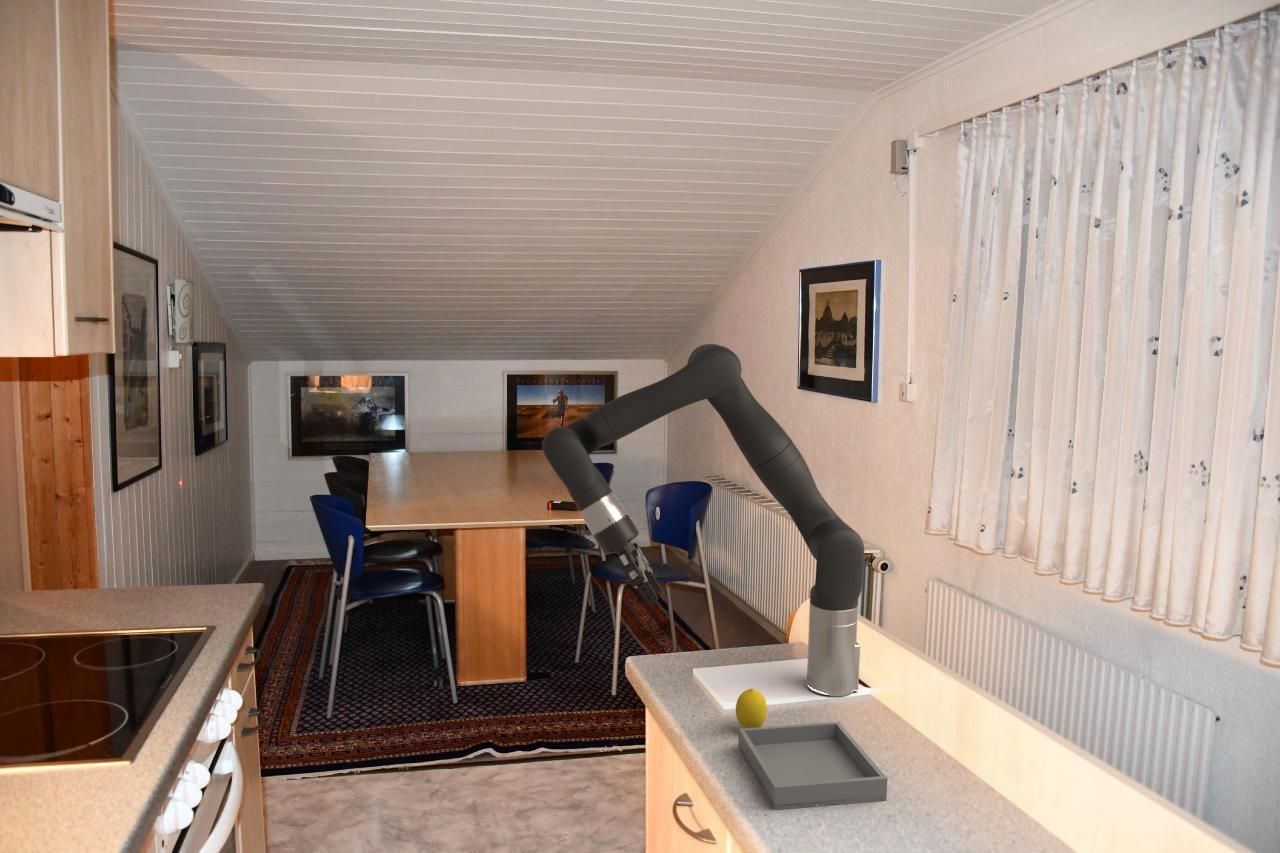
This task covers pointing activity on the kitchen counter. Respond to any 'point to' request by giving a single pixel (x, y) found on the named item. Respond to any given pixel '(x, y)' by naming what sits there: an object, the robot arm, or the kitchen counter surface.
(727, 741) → the kitchen counter surface
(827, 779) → the tray
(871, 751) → the kitchen counter surface
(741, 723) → the lemon
